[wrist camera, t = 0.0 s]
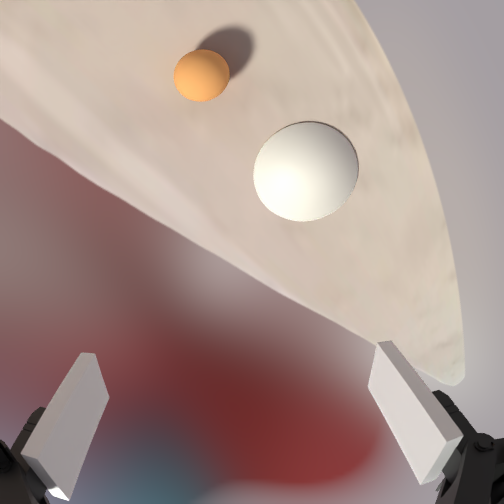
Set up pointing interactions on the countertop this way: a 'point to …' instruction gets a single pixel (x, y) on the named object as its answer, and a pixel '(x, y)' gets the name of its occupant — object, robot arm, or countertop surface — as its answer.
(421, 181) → the countertop surface
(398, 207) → the countertop surface
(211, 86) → the ball
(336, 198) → the white plate
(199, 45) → the countertop surface
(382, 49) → the countertop surface
